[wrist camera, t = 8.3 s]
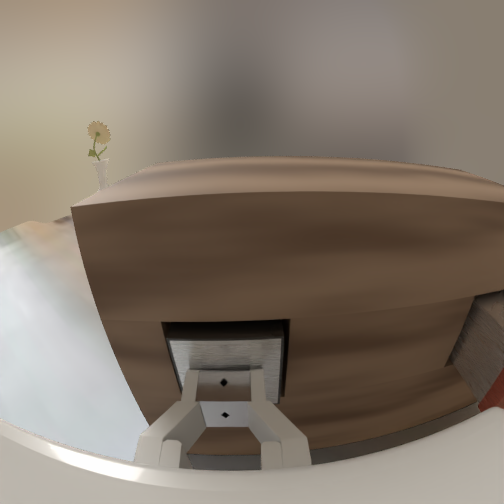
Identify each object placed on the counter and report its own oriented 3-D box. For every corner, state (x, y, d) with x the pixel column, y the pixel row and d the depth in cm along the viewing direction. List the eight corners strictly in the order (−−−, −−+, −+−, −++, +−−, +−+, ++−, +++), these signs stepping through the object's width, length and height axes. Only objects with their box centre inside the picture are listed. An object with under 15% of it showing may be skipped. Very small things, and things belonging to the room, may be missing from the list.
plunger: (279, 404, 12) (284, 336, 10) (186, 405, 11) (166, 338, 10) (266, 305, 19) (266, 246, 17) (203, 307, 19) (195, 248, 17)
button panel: (476, 401, 15) (559, 210, 9) (164, 451, 15) (70, 207, 8) (424, 325, 25) (460, 169, 19) (184, 346, 25) (156, 163, 18)
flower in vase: (134, 207, 71) (125, 113, 61) (96, 219, 63) (84, 119, 53) (114, 202, 79) (106, 120, 68) (81, 213, 71) (70, 126, 60)
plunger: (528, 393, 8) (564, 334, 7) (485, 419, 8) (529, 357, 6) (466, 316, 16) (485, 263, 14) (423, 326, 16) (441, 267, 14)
